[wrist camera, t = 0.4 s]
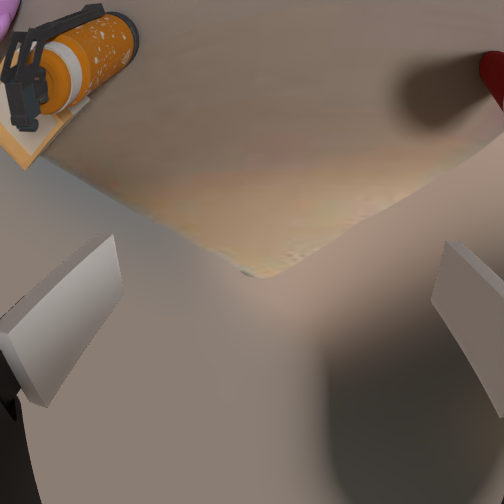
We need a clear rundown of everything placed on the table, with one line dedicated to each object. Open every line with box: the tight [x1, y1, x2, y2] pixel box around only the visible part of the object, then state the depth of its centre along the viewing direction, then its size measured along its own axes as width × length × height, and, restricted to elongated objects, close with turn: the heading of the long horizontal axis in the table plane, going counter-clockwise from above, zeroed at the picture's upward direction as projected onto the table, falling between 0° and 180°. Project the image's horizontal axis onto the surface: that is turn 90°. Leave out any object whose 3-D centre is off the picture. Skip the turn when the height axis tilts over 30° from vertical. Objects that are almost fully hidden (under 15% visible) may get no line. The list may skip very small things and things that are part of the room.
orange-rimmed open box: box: [0, 41, 91, 171], centre depth 37 cm, size 15×15×8 cm
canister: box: [0, 3, 139, 132], centre depth 26 cm, size 9×11×20 cm
